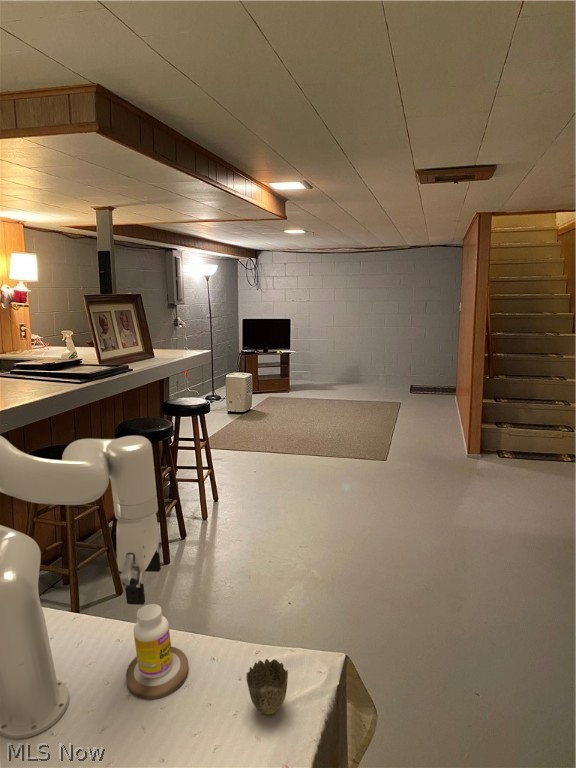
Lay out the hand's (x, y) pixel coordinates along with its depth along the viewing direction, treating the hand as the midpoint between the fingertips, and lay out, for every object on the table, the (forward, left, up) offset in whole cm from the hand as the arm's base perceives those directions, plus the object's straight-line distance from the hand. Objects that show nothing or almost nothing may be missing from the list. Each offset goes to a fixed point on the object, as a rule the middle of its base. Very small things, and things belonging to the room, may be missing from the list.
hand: (144, 586), depth 105 cm
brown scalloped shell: (+23, -7, -21) cm, 32 cm away
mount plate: (0, 0, -21) cm, 21 cm away
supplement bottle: (0, 0, -19) cm, 19 cm away
